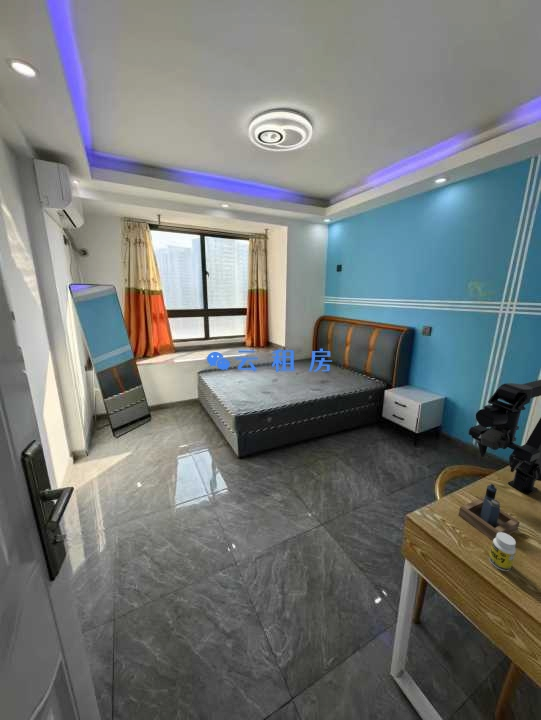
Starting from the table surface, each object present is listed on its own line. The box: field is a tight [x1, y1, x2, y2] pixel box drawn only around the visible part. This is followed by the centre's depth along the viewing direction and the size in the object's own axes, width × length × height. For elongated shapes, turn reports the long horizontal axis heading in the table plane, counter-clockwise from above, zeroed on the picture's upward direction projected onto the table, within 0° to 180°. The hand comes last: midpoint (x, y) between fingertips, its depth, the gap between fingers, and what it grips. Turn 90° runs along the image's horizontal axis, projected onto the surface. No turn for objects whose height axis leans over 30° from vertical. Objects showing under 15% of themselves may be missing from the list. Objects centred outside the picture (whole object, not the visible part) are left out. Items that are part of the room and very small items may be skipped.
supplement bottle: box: [488, 532, 517, 572], centre depth 77 cm, size 5×5×8 cm
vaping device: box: [481, 483, 501, 527], centre depth 89 cm, size 3×5×12 cm, turn 174°
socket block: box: [458, 497, 520, 541], centre depth 90 cm, size 11×11×3 cm
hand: (496, 463), depth 99 cm, fingers open, 9 cm apart
